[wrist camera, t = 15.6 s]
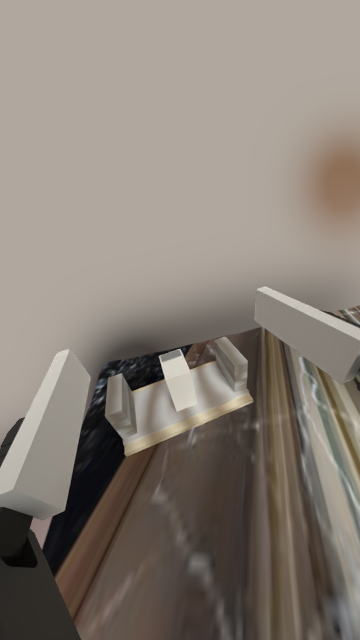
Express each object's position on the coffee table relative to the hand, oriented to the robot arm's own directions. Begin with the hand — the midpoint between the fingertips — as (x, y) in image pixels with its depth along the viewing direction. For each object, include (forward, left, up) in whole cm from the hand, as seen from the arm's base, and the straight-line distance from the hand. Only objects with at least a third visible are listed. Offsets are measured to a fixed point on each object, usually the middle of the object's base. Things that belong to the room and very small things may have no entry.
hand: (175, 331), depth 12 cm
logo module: (0, -16, -30) cm, 34 cm away
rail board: (0, -16, -32) cm, 36 cm away
